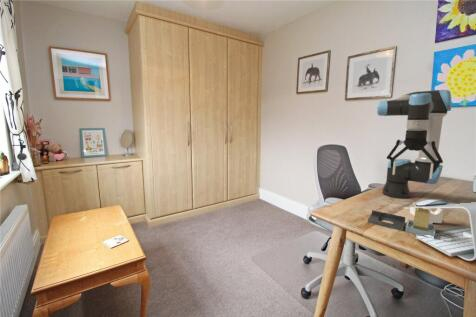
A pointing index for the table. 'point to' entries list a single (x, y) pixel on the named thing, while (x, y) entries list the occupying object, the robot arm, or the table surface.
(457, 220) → the table surface
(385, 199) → the table surface
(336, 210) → the table surface
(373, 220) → the dark grey shallow tray
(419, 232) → the tray
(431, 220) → the bracket
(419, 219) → the mustard yellow block
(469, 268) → the table surface
